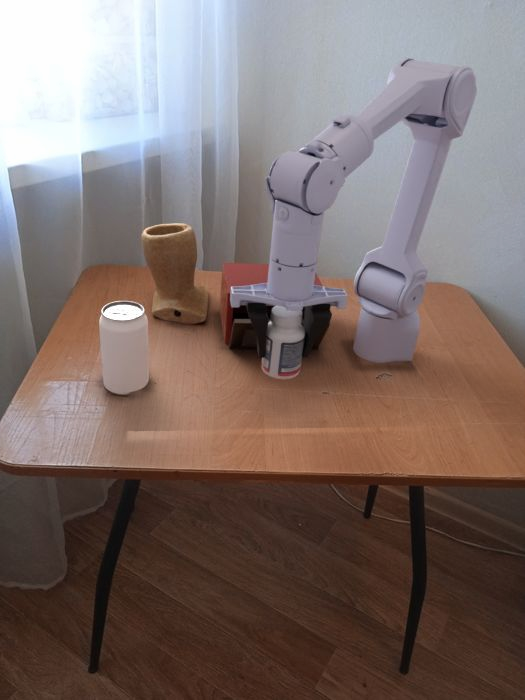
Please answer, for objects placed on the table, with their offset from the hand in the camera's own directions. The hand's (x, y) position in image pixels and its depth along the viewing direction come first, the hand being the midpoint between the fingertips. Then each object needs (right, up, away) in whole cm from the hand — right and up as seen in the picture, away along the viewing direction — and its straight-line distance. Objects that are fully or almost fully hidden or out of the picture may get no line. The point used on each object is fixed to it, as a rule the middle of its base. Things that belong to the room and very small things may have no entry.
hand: (282, 353), depth 74 cm
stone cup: (-19, +8, +28) cm, 35 cm away
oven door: (-1, 0, +17) cm, 17 cm away
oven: (-2, +4, +24) cm, 24 cm away
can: (-22, -5, +7) cm, 24 cm away
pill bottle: (0, -2, +1) cm, 3 cm away
